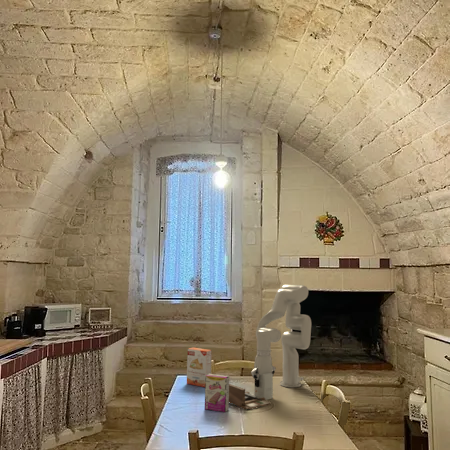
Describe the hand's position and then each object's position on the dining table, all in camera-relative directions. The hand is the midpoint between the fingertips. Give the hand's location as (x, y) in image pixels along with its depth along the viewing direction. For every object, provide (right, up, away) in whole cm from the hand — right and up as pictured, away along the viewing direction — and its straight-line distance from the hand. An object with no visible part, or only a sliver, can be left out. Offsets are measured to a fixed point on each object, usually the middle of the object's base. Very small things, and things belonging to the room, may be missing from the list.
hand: (263, 385), depth 236 cm
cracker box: (-37, -8, +22) cm, 44 cm away
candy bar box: (-25, -4, -23) cm, 34 cm away
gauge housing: (-9, -5, -11) cm, 15 cm away
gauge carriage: (-9, -4, -11) cm, 14 cm away
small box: (0, -7, -1) cm, 7 cm away
